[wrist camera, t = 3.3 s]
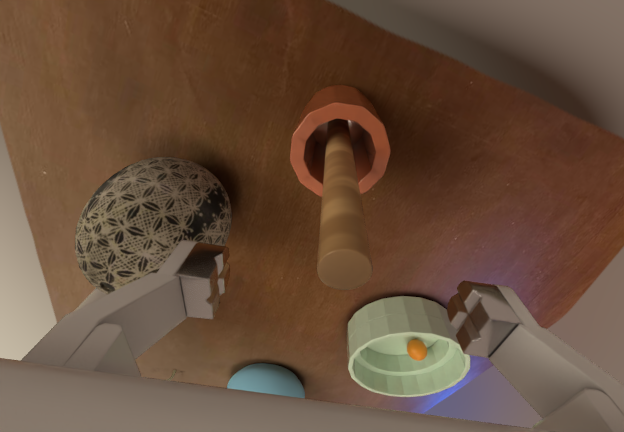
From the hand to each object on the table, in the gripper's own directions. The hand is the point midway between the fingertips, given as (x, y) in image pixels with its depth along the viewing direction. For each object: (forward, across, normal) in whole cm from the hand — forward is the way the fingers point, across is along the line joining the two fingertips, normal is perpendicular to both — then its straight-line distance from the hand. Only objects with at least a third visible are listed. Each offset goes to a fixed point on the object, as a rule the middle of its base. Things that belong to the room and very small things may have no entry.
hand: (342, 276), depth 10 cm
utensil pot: (+21, 0, 0) cm, 21 cm away
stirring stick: (+20, 0, 0) cm, 20 cm away
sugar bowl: (+21, +4, +52) cm, 56 cm away
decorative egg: (+21, +15, +10) cm, 28 cm away
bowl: (+21, -15, +30) cm, 39 cm away
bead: (+18, -18, +31) cm, 41 cm away
